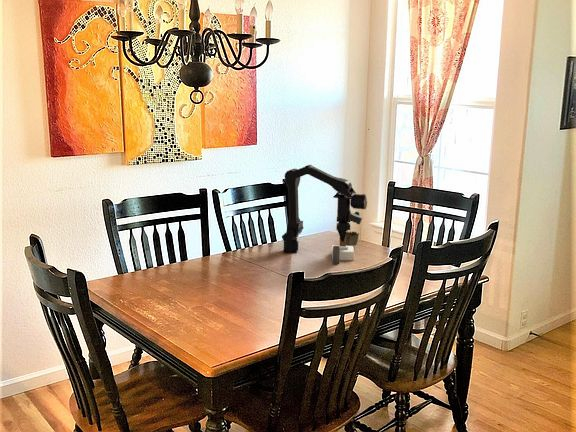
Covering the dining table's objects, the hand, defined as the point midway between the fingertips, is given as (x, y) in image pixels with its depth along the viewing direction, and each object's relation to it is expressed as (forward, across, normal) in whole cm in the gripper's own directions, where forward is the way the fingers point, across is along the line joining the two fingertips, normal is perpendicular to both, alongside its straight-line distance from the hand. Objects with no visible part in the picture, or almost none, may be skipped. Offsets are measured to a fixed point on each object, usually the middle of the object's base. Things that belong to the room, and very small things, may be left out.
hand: (342, 240), depth 274 cm
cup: (+8, +14, -4) cm, 17 cm away
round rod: (+8, -11, +3) cm, 14 cm away
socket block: (+8, 0, 0) cm, 8 cm away
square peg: (+2, 0, 0) cm, 2 cm away
